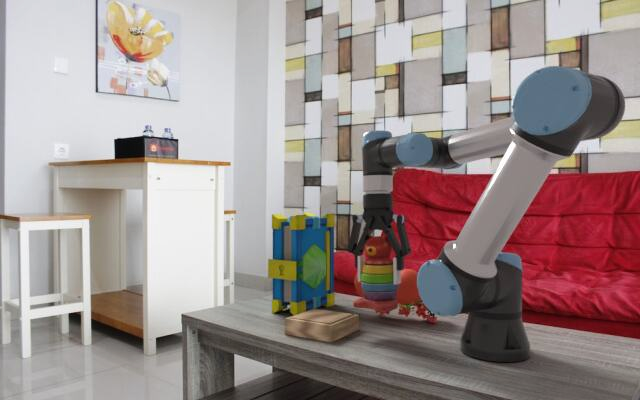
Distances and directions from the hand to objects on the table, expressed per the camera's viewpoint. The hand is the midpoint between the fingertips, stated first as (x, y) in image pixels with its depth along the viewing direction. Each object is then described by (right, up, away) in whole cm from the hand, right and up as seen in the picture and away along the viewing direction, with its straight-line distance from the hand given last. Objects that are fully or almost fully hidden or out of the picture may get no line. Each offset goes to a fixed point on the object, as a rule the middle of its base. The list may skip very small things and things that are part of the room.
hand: (379, 282), depth 129 cm
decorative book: (-19, -14, +32) cm, 40 cm away
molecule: (+7, -14, +18) cm, 24 cm away
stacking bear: (0, -6, 0) cm, 6 cm away
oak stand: (-14, -14, +5) cm, 20 cm away
